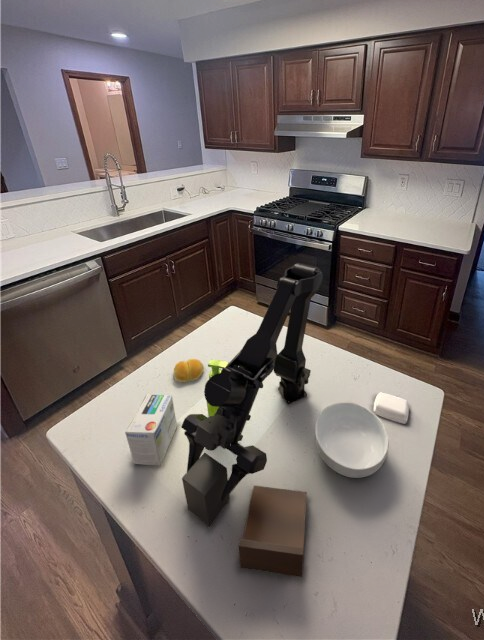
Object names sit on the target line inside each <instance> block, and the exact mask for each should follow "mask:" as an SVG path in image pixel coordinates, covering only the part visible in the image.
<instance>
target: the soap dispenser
mask: <svg viewBox="0 0 484 640" xmlns="http://www.w3.org/2000/svg"><path fill="white" fill-rule="evenodd" d="M229 362H230V361H225V360H220V359H210V361H209V362H208V364H207V368H211V370H210V371H209V372H208V380H209V379H210V378H211V377H212V376H213V375H215V374H219V373H221V371H222V369H223V368H225V367H226V366H227V365H228V364H229ZM206 383H207V381H206V382H205V385H206ZM205 385H204V386H205ZM206 407H207V417H210V416H214V415H215V413H216V412H217V410H218V408H219V407H216V406H211V405H210V404H209V403H208V402H207V401H206Z"/></svg>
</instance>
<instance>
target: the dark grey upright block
mask: <svg viewBox="0 0 484 640" xmlns="http://www.w3.org/2000/svg"><path fill="white" fill-rule="evenodd" d="M228 480H229V476H228V468H227V467H226V465H223V463H221V462H219V461H218V460H216V459H215V458H214V457H212V456H211V455H209V454H208V453H206V452H203V453H202V454H201V456H200V458H199V459H198V460H197V462H196V463H195V464H194V465H193V466H192V467H191V468H190V470H189V471H188V472H187V471H186V473H185V474H184V475H183V476H182V478H181V481H182V486H183V491H184V497H185V501H186V506H187V511H189V512H190V513H191V514H192V515H193V516H195V517H196V518H198V519H199V520H200V522H201V523H203V524H204V525H205V526H207V527H208V528H211V527H212V526H213V524H214V522H215V521H216V519H217V518H218V517H219V515H220V514H221V512H222V511H223V509H224V508H225V506H226V505H227V504H228V502H229V501H230V499H231V495H230V494H229V495H228V497H227V498H226V499H225V500H223V501H222V500H221V497H222V494H223V491H224V489H225V487H226V484H227V482H228Z"/></svg>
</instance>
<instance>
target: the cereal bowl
mask: <svg viewBox="0 0 484 640" xmlns="http://www.w3.org/2000/svg"><path fill="white" fill-rule="evenodd" d="M314 441H315V444H316V448H317V451H318V453H319V455H320V457H321V459H322V460H323V462H324V463H325V464H326V465H327V466H328V467H329V468H330V469H332V470H333V471H334V472H336V473H337V474H339V475H341V476H344V477H347V478H351V479H352V478H354V479H361V478H366V477H369V476H371V475H373V474H375V473H376V472H377V471H379V470H380V468H381V467H382V466H383V464H384V463H385V461H386V458H387V455H388V452H389V446H390V445H389V443H390V442H389V441H390V440H389V435H388V432H387V429H386V427H385V425H384V423H383V422H382V420H381V419H380V418H379V416H378V415H377V414H375V413H374V411H372V410H370V409H369V408H367V407H366V406H364V405H361V404H359V403H355V402H351V401H339V402H335V403H332V404H330V405H328V406H326V407H325V408H323V409H322V411H321V412H320V413H319V414H318V416H317V418H316V421H315V425H314Z"/></svg>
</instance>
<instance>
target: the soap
mask: <svg viewBox="0 0 484 640" xmlns="http://www.w3.org/2000/svg"><path fill="white" fill-rule="evenodd" d="M373 413H374V414H375V415H376V416H378V417H381V418H384V419H386V420H389V421H393V422H396V423H399V424H404V425H406V424H407V422H408V419H409V413H410V411H409V403H408V400H407V399H405V398H401V397H398V396H395V395H393V394H390V393H386V392H382V391H379V392H378V394H377V395H376V397H375V399H374V403H373Z"/></svg>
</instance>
